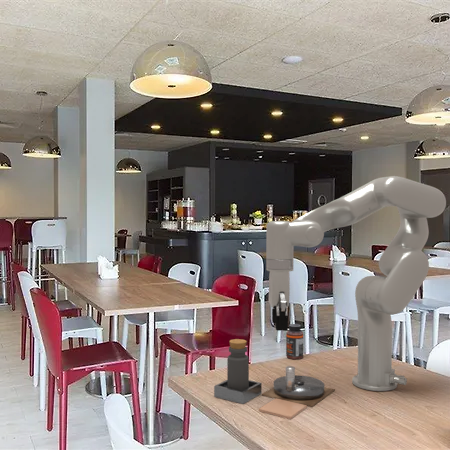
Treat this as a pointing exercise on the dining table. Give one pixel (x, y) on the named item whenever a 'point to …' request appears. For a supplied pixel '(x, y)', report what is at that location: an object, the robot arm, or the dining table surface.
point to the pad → (283, 408)
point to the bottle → (238, 366)
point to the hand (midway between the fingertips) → (279, 326)
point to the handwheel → (298, 386)
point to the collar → (238, 392)
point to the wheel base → (308, 402)
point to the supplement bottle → (294, 342)
